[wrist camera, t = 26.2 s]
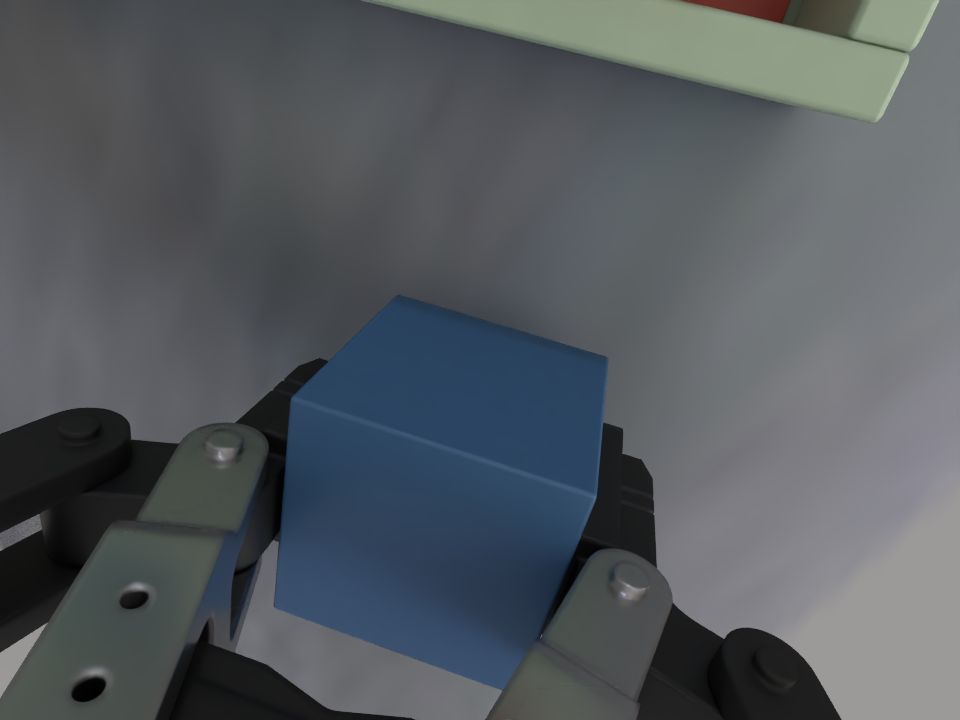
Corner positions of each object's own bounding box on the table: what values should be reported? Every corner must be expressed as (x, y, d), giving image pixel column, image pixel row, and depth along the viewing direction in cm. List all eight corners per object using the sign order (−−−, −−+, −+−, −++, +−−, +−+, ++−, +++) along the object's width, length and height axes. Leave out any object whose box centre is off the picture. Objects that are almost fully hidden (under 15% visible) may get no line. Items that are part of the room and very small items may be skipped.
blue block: (369, 462, 14) (271, 608, 10) (397, 293, 12) (288, 396, 8) (549, 522, 14) (516, 697, 10) (610, 356, 12) (598, 496, 8)
